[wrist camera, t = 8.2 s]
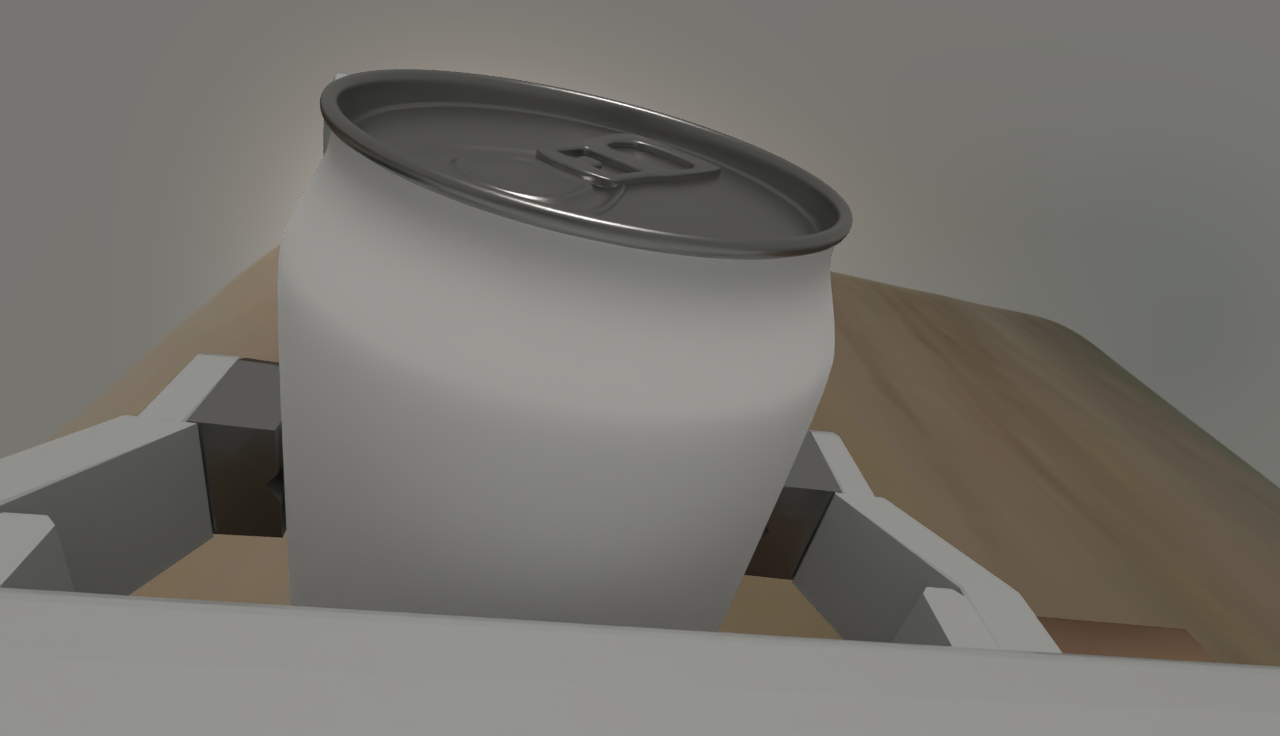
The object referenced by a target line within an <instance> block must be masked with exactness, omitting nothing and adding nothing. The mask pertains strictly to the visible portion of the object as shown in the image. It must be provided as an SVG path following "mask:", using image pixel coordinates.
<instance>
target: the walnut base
mask: <svg viewBox="0 0 1280 736" xmlns="http://www.w3.org/2000/svg"><path fill="white" fill-rule="evenodd" d="M1037 619H1038V620H1039V621H1040V623H1041V624H1042V625H1043V627H1044V628H1045V630H1046V631H1047V632H1048V634H1049V635H1050V636H1051V638H1052V639H1053V641H1054V642H1055V643H1056V645H1057V646H1058V647H1059V649H1060V650H1061V652H1062V653H1066V654H1083V655H1099V656H1115V657H1132V658H1148V659H1164V660H1181V661H1197V662H1213V663H1216V662H1215V661H1214V660H1213V659H1212V658H1211V656H1210V655H1209V654H1208V653H1207V652H1206V651H1205V650H1204V649H1203V648H1202V647H1201V646H1200V645H1199V643H1198V642H1197V641H1196V640H1195V639H1194V638H1193V637H1192V636H1191V635H1190V634H1189V633H1188V632H1187V630H1186V629H1177V628H1165V627H1153V626H1142V625H1130V624H1118V623H1106V622H1094V621H1083V620H1071V619H1059V618H1047V617H1037Z"/></svg>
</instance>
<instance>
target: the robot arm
mask: <svg viewBox="0 0 1280 736" xmlns="http://www.w3.org/2000/svg"><path fill="white" fill-rule="evenodd" d="M286 530H287V529H286V509H285V487H284V465H283V443H282V421H281V397H280V370H279V363H278V362H271V361H264V360H257V359H251V358H241V357H238V356H230V355H221V354H213V353H202V354H198V355H196V356H195V357H194V358H193V359H192V360H191V361H190V362H189V363H188V364H187V365H186V366H185V367H184V368H183V369H182V371H181V372H180V373H179V374H178V375H177V376H176V377H175V378H174V379H173V380H172V381H171V382H170V383H169V384H168V385H167V386H166V387H165V388H164V389H163V390H162V391H161V392H160V393H159V394H158V395H157V396H156V397H155V398H154V399H153V400H152V402H151V403H150V404H149V405H148V406H147V407H146V408H145V409H144V410H143V411H142V412H141V413H140V414H139V415H138V416H127V415H123V416H120V417H118V418H115V419H112V420H109V421H106V422H103V423H101V424H98V425H95V426H92V427H89V428H86V429H84V430H81V431H78V432H75V433H72V434H69V435H67V436H64V437H61V438H58V439H55V440H52V441H50V442H47V443H44V444H41V445H38V446H35V447H33V448H30V449H27V450H24V451H21V452H19V453H16V454H13V455H10V456H7V457H4V458H1V459H0V736H1280V667H1279V666H1262V665H1246V664H1230V663H1213V662H1197V661H1181V660H1164V659H1148V658H1132V657H1115V656H1099V655H1083V654H1066V653H1062V652H1061V650H1060V649H1059V647H1058V646H1057V645H1056V643H1055V642H1054V641H1053V639H1052V638H1051V636H1050V635H1049V634H1048V632H1047V631H1046V630H1045V628H1044V627H1043V625H1042V624H1041V623H1040V621H1039V620H1038V619H1037V617H1036V616H1035V614H1034V613H1033V612H1032V610H1031V609H1030V607H1029V606H1028V605H1027V603H1026V602H1025V601H1024V599H1023V598H1022V596H1021V595H1020V594H1019V593H1018V592H1017V591H1016V590H1014V589H1013V588H1011V587H1010V586H1008V585H1007V584H1006V583H1004V582H1003V581H1001V580H1000V579H998V578H997V577H996V576H994V575H993V574H991V573H990V572H989V571H987V570H986V569H984V568H983V567H981V566H980V565H979V564H977V563H976V562H974V561H973V560H971V559H970V558H969V557H967V556H966V555H964V554H963V553H961V552H960V551H959V550H957V549H956V548H954V547H953V546H952V545H950V544H949V543H947V542H946V541H944V540H943V539H942V538H940V537H939V536H937V535H936V534H934V533H933V532H932V531H930V530H929V529H927V528H926V527H924V526H923V525H922V524H920V523H919V522H917V521H916V520H915V519H913V518H912V517H910V516H909V515H907V514H906V513H905V512H903V511H902V510H900V509H899V508H897V507H896V506H895V505H893V504H892V503H890V502H889V501H887V500H886V499H885V498H880V497H875V496H874V494H873V493H872V491H871V489H870V488H869V486H868V484H867V482H866V481H865V479H864V477H863V476H862V474H861V472H860V471H859V469H858V467H857V466H856V464H855V462H854V461H853V459H852V457H851V455H850V454H849V452H848V450H847V449H846V447H845V445H844V444H843V442H842V440H841V439H840V437H839V436H838V435H836V434H835V433H833V432H823V431H812V430H808V431H807V433H806V436H805V438H804V440H803V443H802V445H801V447H800V449H799V452H798V454H797V456H796V459H795V461H794V463H793V466H792V468H791V470H790V472H789V475H788V477H787V479H786V482H785V484H784V486H783V488H782V491H781V493H780V495H779V497H778V500H777V502H776V504H775V506H774V509H773V511H772V513H771V515H770V518H769V520H768V522H767V524H766V527H765V529H764V531H763V533H762V536H761V538H760V540H759V542H758V545H757V547H756V549H755V551H754V554H753V556H752V558H751V560H750V563H749V565H748V567H747V569H746V572H745V574H744V575H751V576H760V577H769V578H778V579H788V580H793V582H792V583H793V584H794V585H795V586H796V587H797V588H798V590H799V591H800V592H801V593H802V594H803V595H804V596H805V597H806V598H807V600H808V601H809V602H810V603H811V604H812V605H813V606H814V607H815V608H816V610H817V611H818V612H819V613H820V614H821V615H822V616H823V617H824V618H825V620H826V621H827V622H828V623H829V624H830V625H831V626H832V627H833V628H834V630H835V631H836V632H837V633H838V634H839V635H840V636H841V637H842V638H843V640H838V639H822V638H806V637H789V636H773V635H757V634H740V633H724V632H708V631H691V630H675V629H659V628H643V627H627V626H611V625H596V624H580V623H564V622H548V621H533V620H517V619H501V618H485V617H470V616H454V615H437V614H421V613H404V612H388V611H371V610H355V609H339V608H322V607H306V606H289V605H273V604H256V603H240V602H224V601H207V600H191V599H174V598H158V597H142V596H128V595H130V594H131V593H133V592H134V591H136V590H137V589H138V588H140V587H141V586H143V585H144V584H146V583H147V582H149V581H150V580H152V579H153V578H154V577H156V576H157V575H159V574H160V573H162V572H163V571H165V570H166V569H168V568H169V567H170V566H172V565H173V564H175V563H176V562H178V561H179V560H181V559H182V558H184V557H185V556H187V555H188V554H189V553H191V552H192V551H194V550H195V549H197V548H198V547H200V546H201V545H203V544H204V543H205V542H207V541H208V540H210V539H211V538H213V534H225V535H243V536H262V537H280V538H283V536H284V534H285V532H286Z"/></svg>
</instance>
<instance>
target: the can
mask: <svg viewBox="0 0 1280 736" xmlns="http://www.w3.org/2000/svg"><path fill="white" fill-rule="evenodd" d="M320 108H321V112H322V116H323V118H324V120H325V122H326V124H327V125H328V126H329V128H330V129H331V131H330V138H329V143H328V147H327V150H326V152H325V154H324V157H323V159H322V161H321V163H320V165H319V167H318V168H317V170H316V172H315V174H314V175H313V177H312V179H311V181H310V183H309V184H308V186H307V188H306V190H305V191H304V193H303V195H302V197H301V199H300V200H299V202H298V204H297V206H296V208H295V210H294V212H293V214H292V216H291V218H290V220H289V222H288V225H287V227H286V230H285V232H284V235H283V238H282V241H281V245H280V253H279V264H278V275H277V279H278V344H279V370H280V397H281V421H282V443H283V465H284V487H285V509H286V529H287V549H288V570H289V590H290V606H306V607H322V608H339V609H355V610H371V611H388V612H404V613H421V614H437V615H454V616H470V617H485V618H501V619H517V620H533V621H548V622H564V623H580V624H596V625H611V626H627V627H643V628H659V629H675V630H691V631H708V632H719V630H720V627H721V625H722V623H723V621H724V618H725V616H726V614H727V612H728V610H729V607H730V605H731V603H732V601H733V598H734V596H735V594H736V592H737V590H738V587H739V585H740V583H741V581H742V578H743V576H744V574H745V572H746V569H747V567H748V565H749V563H750V560H751V558H752V556H753V554H754V551H755V549H756V547H757V545H758V542H759V540H760V538H761V536H762V533H763V531H764V529H765V527H766V524H767V522H768V520H769V518H770V515H771V513H772V511H773V509H774V506H775V504H776V502H777V500H778V497H779V495H780V493H781V491H782V488H783V486H784V484H785V482H786V479H787V477H788V475H789V472H790V470H791V468H792V466H793V463H794V461H795V459H796V456H797V454H798V452H799V449H800V447H801V445H802V443H803V440H804V438H805V436H806V433H807V431H808V429H809V426H810V424H811V421H812V419H813V417H814V414H815V412H816V409H817V407H818V404H819V402H820V399H821V397H822V394H823V392H824V389H825V386H826V383H827V380H828V377H829V373H830V370H831V367H832V364H833V359H834V345H835V334H834V314H833V302H832V291H831V278H830V262H831V256H832V252H833V248H834V246H835V245H837V244H838V243H840V242H841V241H842V240H843V239H844V238H845V237H846V236H847V234H848V233H849V231H850V229H851V226H852V219H853V218H852V213H851V210H850V208H849V206H848V205H847V203H846V202H845V201H844V199H843V198H842V197H841V196H840V195H839V194H838V193H837V192H836V191H835V190H833V189H832V188H831V187H830V186H828V185H827V184H826V183H824V182H823V181H821V180H820V179H818V178H817V177H815V176H814V175H812V174H811V173H809V172H807V171H806V170H804V169H802V168H800V167H798V166H797V165H795V164H793V163H791V162H789V161H787V160H785V159H783V158H781V157H778V156H776V155H774V154H772V153H770V152H768V151H765V150H763V149H761V148H759V147H756V146H754V145H752V144H749V143H746V142H744V141H741V140H739V139H737V138H734V137H731V136H729V135H726V134H723V133H721V132H718V131H715V130H712V129H710V128H707V127H704V126H701V125H698V124H695V123H692V122H689V121H686V120H683V119H680V118H676V117H673V116H670V115H667V114H663V113H659V112H657V111H653V110H650V109H646V108H642V107H639V106H635V105H631V104H627V103H624V102H620V101H616V100H612V99H608V98H604V97H599V96H596V95H591V94H587V93H582V92H578V91H573V90H569V89H564V88H559V87H554V86H549V85H544V84H538V83H532V82H527V81H521V80H515V79H509V78H502V77H495V76H488V75H479V74H471V73H461V72H450V71H437V70H415V69H394V70H377V71H368V72H361V73H356V74H351V75H347V76H344V77H341V78H339V79H337V80H335V81H333V82H331V83H330V84H329V85H328V86H326V88H325V89H324V90H323V92H322V94H321V98H320Z"/></svg>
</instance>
